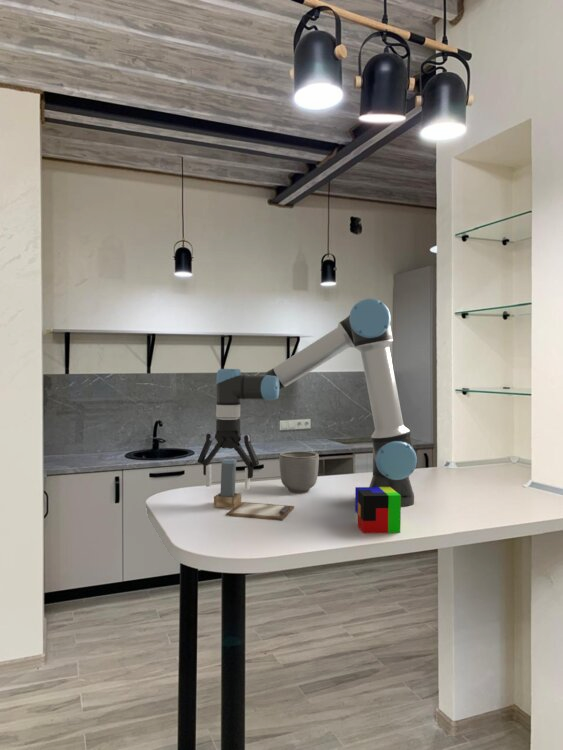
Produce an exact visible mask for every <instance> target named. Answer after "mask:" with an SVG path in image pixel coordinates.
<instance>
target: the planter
mask: <svg viewBox="0 0 563 750" xmlns="http://www.w3.org/2000/svg"><path fill="white" fill-rule="evenodd" d="M278 458H279V461H278V462H279V474H280V480H281V484H282V485H283V486H284V487H285V488H287V490H288V491H289V492H290V493H294V494H305V493H308V492H310V490H311V489H312V488H313V487H314V486H315V485H316V483H317V481H318V475H319V463H320V456H319V453H318V452H315V451H306V450H305V451H304V450H293V451H292V450H291V451H290V450H289V451H283V452H281V453H279V456H278Z"/></svg>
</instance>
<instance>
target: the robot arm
mask: <svg viewBox="0 0 563 750" xmlns="http://www.w3.org/2000/svg"><path fill="white" fill-rule="evenodd" d="M391 319H392V316H391V312H390V310H389V308H388V307H387V305H386V304H385V303H384V302H383V301H381V300H380V299H376V298H365V299H362V300H359V301H358V302H357V303H355V304H354V305H353V307H351V310H350V313H349V315H348V316H346V318H344V319H343V320H341V321H340V322H338V324H337V327H336V328H334V329H333V330H331V331H329V332H328V333H326V334H324V335H323V336H321V337H320V338H319V339H317V340H315V341H313V342H312V343H311V344H309V345H308V346H307V345H306V346H305V347H304V348H303V349H301V350H299V351H298V352H297V353H295V354H294V355H293V354H292V355H291V356H290V357H289V358H287V359H285V360H283V361H282V362H280V363H279V364H278V365H275V366H274V367H273V368H271V369H269V370H268V371H266V372H265V373H263V374H262V375H259V374H258V375H243V374H242V371H241V369H240V368H220V369H218V370H217V371H216V383H215V386H216V387H215V389H216V390H215V391H216V393H215V394H216V396H215V397H216V400H215V401H216V402H215V404H216V406H215V408H216V409H215V410H216V411H215V417H216V421H215V430H216V431H215V434H214V433H212V432H209V433H207V434H206V435H205V436H206V437H205V443H204V445H203V447H202V449H201V452H200V454H199V457H198V458H197V463H198V464H201V465H202V467H203V469H202V470H203V472H202V473H203V476H205V487H206V488H207V487H210V486H212V473H213V472H212V467H213V466H212V464H210V463H211V461H212V460H214V458H215V456H216V455H217V454H218V453H219V451H220V449H230V450H231V449H232V450H233V449H234V451H236V452H237V454H238V456H239V457H240V458H241V460H242V461H243V462H244V465H245V466H246V467H245V468H244V490H249V489H250V488H251V479H252V478H254V477H253V476H254V468H255V467H257V466H259V464H260V462H259V459H258V457H257V454H256V452H255V450H254V447H253V444H252V442H251V435H250V434H245V435H242V434H241V419H240V417H241V400H253V401H254V400H257V401H259V400H260V401H271V400H273V401H274V400H275V401H276V400H278V398H279V396H280V391H282V390H283V389H285V388H286V387H287V386H290V385H291V384H292V383H294V382H296V381H297V380H299V379H301V378H302V377H304V376H306V375H307V374H309V373H310V372H312V371H314V370H315V369H317V368H318V367H320V366H321V365H323V364H325V363H326V362H328V361H330V360H331V359H332V358H335V357H336V356H338V355H339V354H341V353H342V352H345V350H347V349H349V348H354V349H356V350H358V351H359V352H360V354H361V361H362V365H363V370H364V371H363V372H364V376H365V377H364V378H365V382H366V386H367V387H366V389H367V394H368V398H369V404H370V409H371V414H372V419H373V427H374V431H373V433H372V434H371V441H372V442H371V443H372V476H371V477H372V478H371V481H370V482H369V486H368V487H391V488H392V489H393V490H395V491H396V492H397V493H399V494H400V495H401V507H406V506H410V505H413V504H414V503H415V493H414V491H413V486H412V483H411V480H410V476H411V475H412V474H413V473H414V471H415V469H416V467H417V463H418V457H417V453H416V451H415V449H414V444H413V441H412V435H411V430H410V429H409V428H408V427H406V425H405V424H404V420H403V415H402V409H401V405H400V404H401V403H400V399H399V393H398V387H397V382H396V377H395V371H394V366H393V360H392V356H391V355H392V354H391V350H390V345H391V344H392V343H393V341H394V337H393V332H392V327H391ZM214 440H215V441H216V442H217V443H216V444H215V445H214V447H213V448H212V450H211V451H210V452H209V450H210V447H211V445H212V443H213V441H214ZM241 440H242V442H243V444H244V446H245V448H246V451H247V453H248V454H247V453H246V452H245V450H244V449H243V446H242V444H240V441H241ZM208 453H209V454H208Z"/></svg>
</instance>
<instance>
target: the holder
mask: <svg viewBox="0 0 563 750" xmlns="http://www.w3.org/2000/svg"><path fill="white" fill-rule="evenodd" d="M241 502H242V493H241V492H235V496H234V497H221V496H220V492H219V493H218V494H216V495H214V496H213V508H214V507H215V508H214V509H225V508H227V510H228V509H229V510H232V509H233V508H235V507H236V506H237V505H239V504H240V503H241Z"/></svg>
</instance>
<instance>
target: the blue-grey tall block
mask: <svg viewBox="0 0 563 750" xmlns="http://www.w3.org/2000/svg"><path fill="white" fill-rule="evenodd" d="M236 472H237V459H236V458H224V459H223V458H222V459H221V473H220V475H221V476H220V492H219V493H220V496H221V497H234V496H235V493H236V478H237V477H236V476H237V474H236Z"/></svg>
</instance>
